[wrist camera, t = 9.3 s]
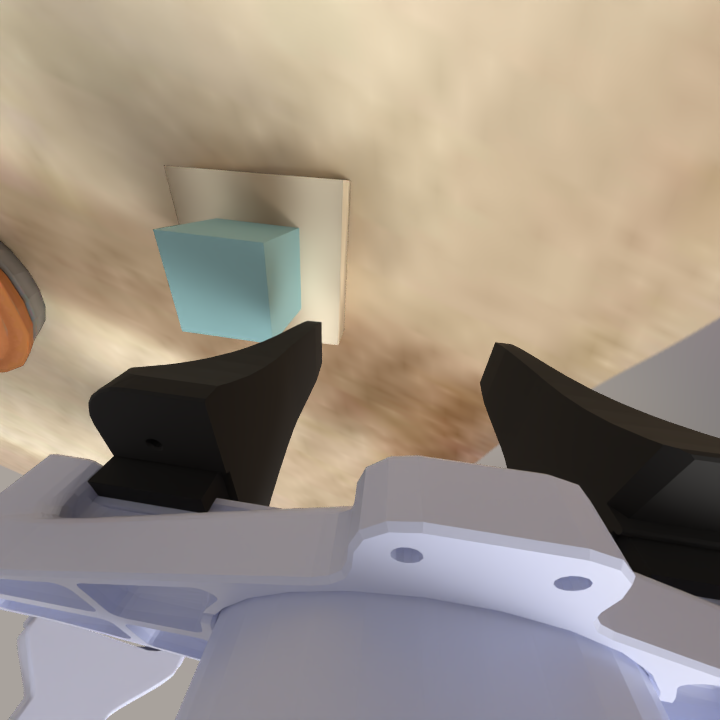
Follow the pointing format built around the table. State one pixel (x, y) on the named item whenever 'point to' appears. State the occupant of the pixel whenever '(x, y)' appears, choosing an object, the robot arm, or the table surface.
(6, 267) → the pie
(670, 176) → the table surface
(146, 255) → the table surface
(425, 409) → the table surface
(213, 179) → the birch base
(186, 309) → the teal block
